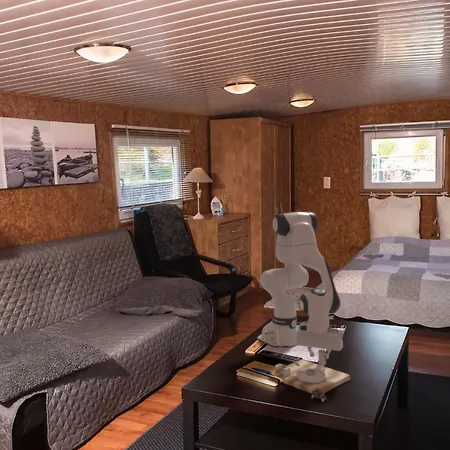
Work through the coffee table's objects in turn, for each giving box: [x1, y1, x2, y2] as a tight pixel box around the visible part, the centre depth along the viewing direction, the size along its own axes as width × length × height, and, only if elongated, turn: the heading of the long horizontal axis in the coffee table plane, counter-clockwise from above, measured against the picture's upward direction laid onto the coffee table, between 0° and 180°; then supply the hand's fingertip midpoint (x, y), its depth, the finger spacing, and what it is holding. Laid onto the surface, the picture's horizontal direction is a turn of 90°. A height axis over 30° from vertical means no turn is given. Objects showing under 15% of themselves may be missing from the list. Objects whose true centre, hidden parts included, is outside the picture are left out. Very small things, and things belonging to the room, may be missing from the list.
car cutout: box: [311, 389, 327, 403], centre depth 202 cm, size 15×7×4 cm, turn 50°
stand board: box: [269, 358, 351, 394], centre depth 224 cm, size 26×22×6 cm
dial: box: [296, 348, 327, 384], centre depth 223 cm, size 20×12×9 cm, turn 142°
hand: (319, 357), depth 228 cm, fingers open, 5 cm apart
